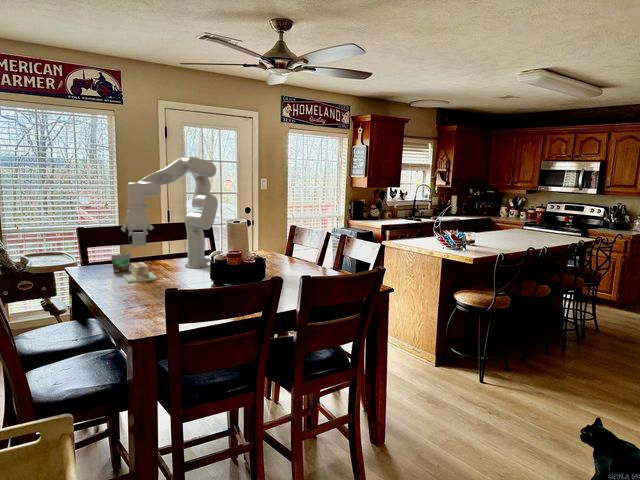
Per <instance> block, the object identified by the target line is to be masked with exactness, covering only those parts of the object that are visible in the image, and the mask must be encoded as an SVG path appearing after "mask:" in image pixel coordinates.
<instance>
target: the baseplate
mask: <svg viewBox="0 0 640 480" xmlns="http://www.w3.org/2000/svg"><path fill="white" fill-rule="evenodd" d="M122 278H123V279H124V280H125V281H126V283H128V284H131V283H137V282H146V281H155V280H158V277H157V275H155V274H154V273H153V272H151V271H149V278H145V279H135V278H134V277H133V276H132V275H131V273H130V274H123V275H122Z"/></svg>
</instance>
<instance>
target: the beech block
mask: <svg viewBox="0 0 640 480" xmlns="http://www.w3.org/2000/svg"><path fill="white" fill-rule="evenodd" d="M130 271H131V273H130V274H131V275H132V276H133V277H134V278H135V279H145V278H149V272H150V271H149V266H148V264H146V263H145V262H144V261H143V262H142V261H141V262H140V261H139V262H133V263H130Z"/></svg>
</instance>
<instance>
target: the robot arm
mask: <svg viewBox="0 0 640 480" xmlns="http://www.w3.org/2000/svg"><path fill="white" fill-rule="evenodd" d="M188 173H190V174H191V175H192V177H193V178H194V181H195V187H194V191H193V195H192V200H191V206H192V209H195V210H197V211H190V212H188V213H187V214H186V215H185V217H184V225H185V228H186V229H185V230H186V242H187V243H186V244H187V248H186V251H187V263H185V264H184V267H185V268H189V269H201V268H200V267H202V268H205V267H208V263H211V262H210V259H211V258H207V257H205V233H204V230H206V231H207V230H210V229H211V228H212V227H213V225H214V223H215V220H216V215H217V212H218V211H217V210H218V206H219V203H218V198H217V197H216V196H215V195H213V194H210V193H211V188H212V187H211V185H212V184H211V181H210V179H209V178H213V177H214V176H215V175H216V173H217V166H216V165H215V164H214V163H213V162H211V161H208V160H205V159H202V158H199V157H196V156H195V157H194V156H181V157H180V158H177V159H175V160H174V161H173V162H172V163H170V164H169V165H167V166H165V167H164V168H162V169H159V170H158V171H156V172H153V173H151V174H149V175H147V176H145V177H143V178H142V179H140V180H139V181H138V182H128V183H127V206H128V209H127V210H126V212H125V213H126V214H125V223H124V225H122V226H121V228H120V230H121V231H122V232H123V233H125V234H126V235H128V236H127V238H128V243H130V245H131V244H132V235H131V234H132V233H133V232H134V231H142V232H143V233H145V235H146V242H148V235H149V234H150V232H152V230H153V229H155V226H153V225H152V224H151V223H150V222H149V218H148V211H147V209H146V208H148V207H149V206H148V204H145V197H149V198H155V197H157V196H159V195H160V194H161V190H162V189H161V188H162V187H161V186H164V185H169V184H172V183H174V182H176V181H177V180H179V179H180V178H181V177H183V176H184V175H186V174H188Z"/></svg>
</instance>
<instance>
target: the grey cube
mask: <svg viewBox="0 0 640 480" xmlns="http://www.w3.org/2000/svg"><path fill="white" fill-rule="evenodd" d="M131 235H132V244H131V243H130V246H132V247H140V246H147V241H146V235H145V233H144V232H143V231H141V232H140V231H139V232H137V231H136V232H135V231H134V232H132V234H131Z"/></svg>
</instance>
